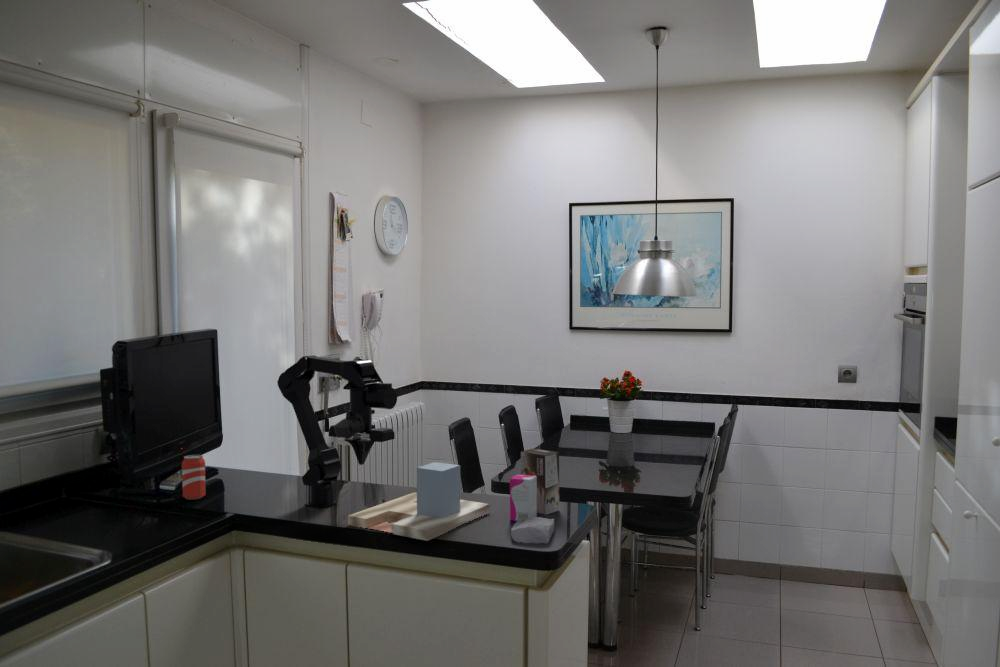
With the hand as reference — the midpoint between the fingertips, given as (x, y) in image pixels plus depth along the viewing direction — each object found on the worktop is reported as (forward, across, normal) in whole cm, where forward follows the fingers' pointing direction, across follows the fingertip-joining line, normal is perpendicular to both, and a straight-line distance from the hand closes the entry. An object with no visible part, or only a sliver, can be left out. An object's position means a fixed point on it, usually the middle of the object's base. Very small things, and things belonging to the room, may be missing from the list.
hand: (361, 464), depth 215 cm
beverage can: (+13, -52, -13) cm, 55 cm away
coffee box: (+14, +40, +27) cm, 50 cm away
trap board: (+13, +17, +3) cm, 22 cm away
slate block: (+11, +23, +3) cm, 26 cm away
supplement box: (+14, +41, +16) cm, 46 cm away
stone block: (+14, +49, +5) cm, 51 cm away
